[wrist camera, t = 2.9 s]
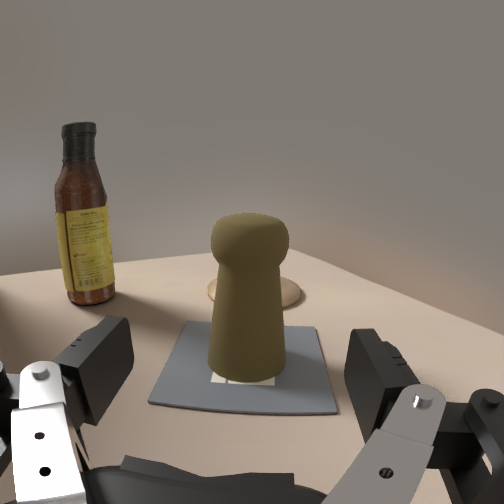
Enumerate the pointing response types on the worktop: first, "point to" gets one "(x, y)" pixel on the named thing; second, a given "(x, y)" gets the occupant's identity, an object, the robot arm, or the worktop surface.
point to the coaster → (288, 291)
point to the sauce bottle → (83, 219)
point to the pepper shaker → (248, 298)
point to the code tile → (246, 394)
